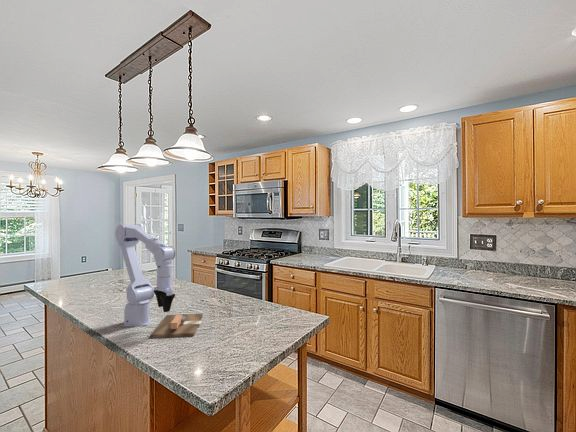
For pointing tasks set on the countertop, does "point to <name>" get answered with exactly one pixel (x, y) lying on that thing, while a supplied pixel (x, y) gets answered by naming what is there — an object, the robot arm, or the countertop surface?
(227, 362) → the countertop surface
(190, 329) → the lock board
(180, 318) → the orange bar
